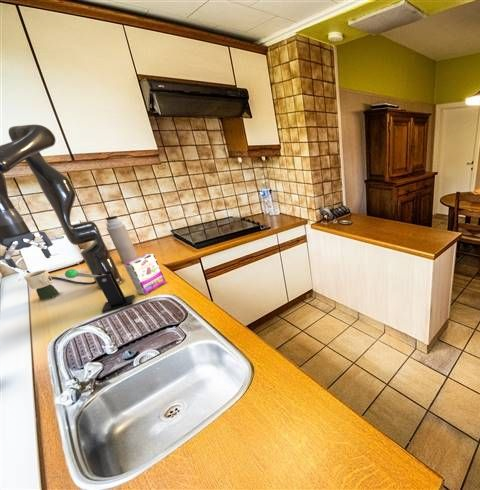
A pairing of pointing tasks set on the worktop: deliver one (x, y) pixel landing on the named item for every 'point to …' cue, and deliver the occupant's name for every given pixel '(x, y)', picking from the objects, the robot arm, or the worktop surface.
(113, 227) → the thermos bottle
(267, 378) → the worktop surface
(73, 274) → the switch lever
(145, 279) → the candy bar box
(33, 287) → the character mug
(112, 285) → the switch bracket
